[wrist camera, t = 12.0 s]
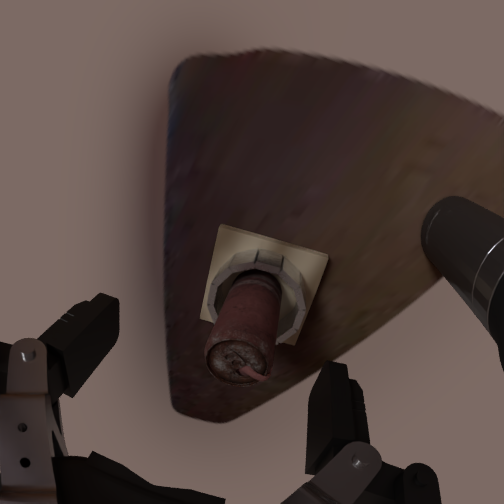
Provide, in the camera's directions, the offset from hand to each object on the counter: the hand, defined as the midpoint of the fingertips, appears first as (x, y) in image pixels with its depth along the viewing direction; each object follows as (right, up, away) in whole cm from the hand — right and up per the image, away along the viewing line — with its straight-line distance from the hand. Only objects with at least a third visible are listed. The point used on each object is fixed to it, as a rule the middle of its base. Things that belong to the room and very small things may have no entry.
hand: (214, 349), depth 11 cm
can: (+2, -1, +28) cm, 28 cm away
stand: (+2, -1, +29) cm, 29 cm away
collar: (+2, -1, +28) cm, 28 cm away
